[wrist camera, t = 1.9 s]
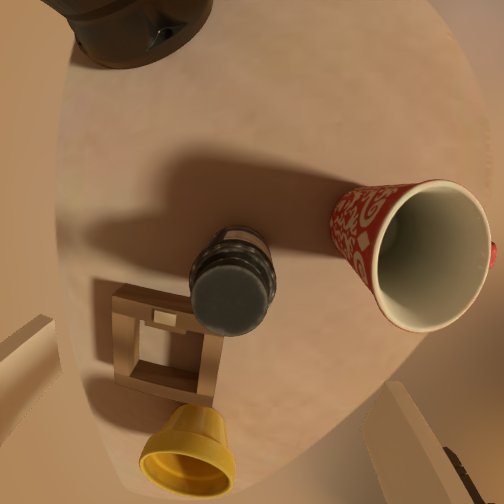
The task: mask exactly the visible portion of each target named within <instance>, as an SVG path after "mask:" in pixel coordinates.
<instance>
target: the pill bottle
mask: <svg viewBox="0 0 504 504" xmlns="http://www.w3.org/2000/svg"><path fill="white" fill-rule="evenodd" d="M189 288H190V292H191V295H190V303H191V308H192V311H193V314H194V316H195V317H196V319H197V320H198V322H199V323H200V324H201V325H202V326H203V327H204V328H206V329H207V330H209V331H211V332H213V333H215V334H218V335H221V336H228V337H233V336H240V335H243V334H246V333H248V332H250V331H252V330H253V329H255V328H256V327H257V326H258V325H259V324H260V323H261V322H262V321H263V318H264V317H265V315H266V313H267V309H268V308H269V306H270V304H271V302H272V301H273V298H274V296H275V293H276V275H275V271H274V267H273V263H272V258H271V254H270V250H269V247H268V245H267V243H266V241H265V240H264V238H263V237H262V236H261V235H260V234H259V233H257V232H256V231H254V230H252V229H250V228H247V227H244V226H232V227H229V228H225V229H223V230H221V231H219V232H218V233H216V234H215V235H214V236H213V237H212V238H211V240H210V241H209V242H208V244H207V245H206V246H205V248H204V249H203V250H202V252H201V253H200V254H199V256H198V257H197V258H196V260H195V262H194V263H193V265H192V268H191V271H190V276H189Z"/></svg>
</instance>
